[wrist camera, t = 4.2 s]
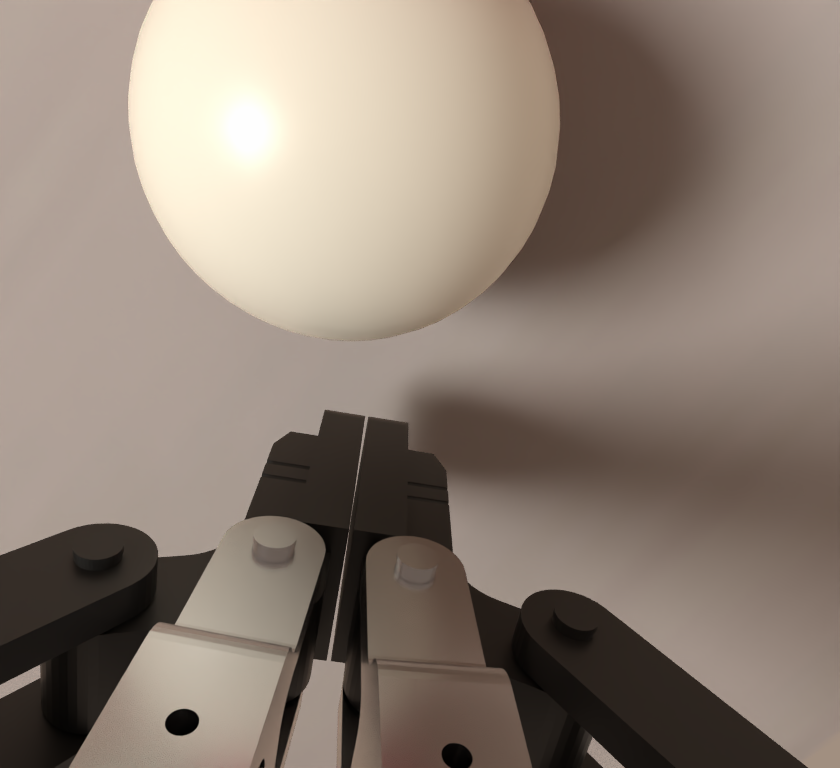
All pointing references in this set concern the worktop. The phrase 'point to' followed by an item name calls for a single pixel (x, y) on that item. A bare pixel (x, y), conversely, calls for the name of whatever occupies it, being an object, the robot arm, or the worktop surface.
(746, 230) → the worktop surface
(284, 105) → the ivory ball
